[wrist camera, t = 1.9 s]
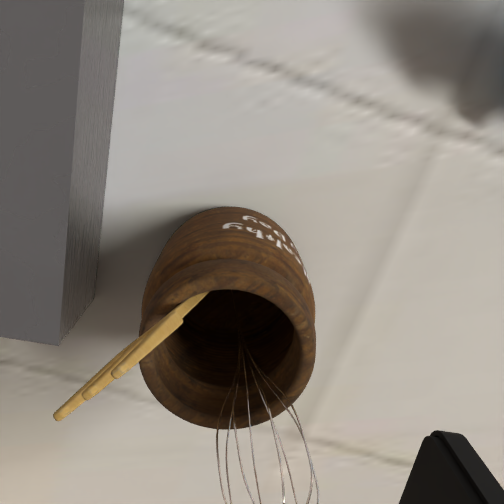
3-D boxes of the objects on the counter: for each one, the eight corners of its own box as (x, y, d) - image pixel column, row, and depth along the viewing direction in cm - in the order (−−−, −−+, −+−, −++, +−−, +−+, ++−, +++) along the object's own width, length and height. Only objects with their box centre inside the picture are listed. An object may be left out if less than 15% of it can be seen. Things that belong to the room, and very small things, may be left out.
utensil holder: (221, 354, 20) (201, 676, 9) (127, 253, 18) (-48, 490, 7) (326, 280, 19) (456, 536, 8) (237, 166, 17) (237, 279, 6)
